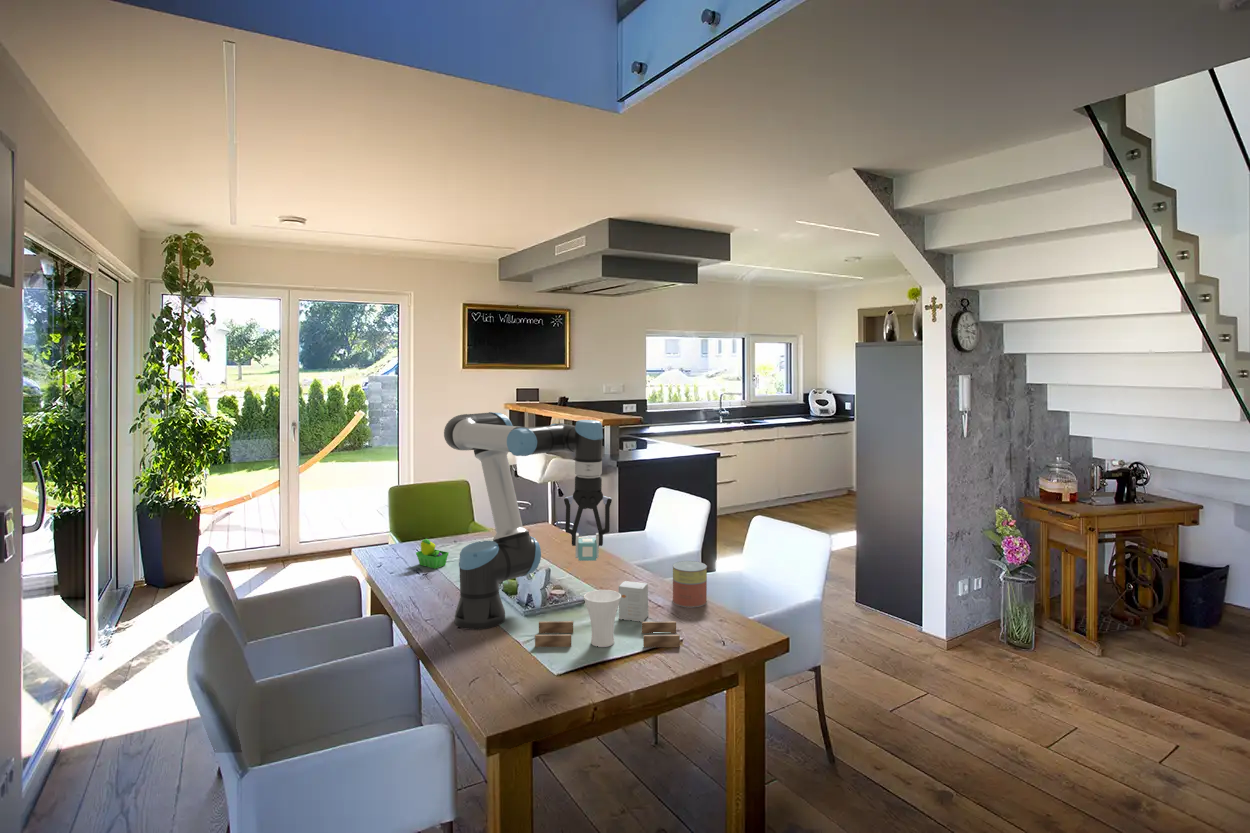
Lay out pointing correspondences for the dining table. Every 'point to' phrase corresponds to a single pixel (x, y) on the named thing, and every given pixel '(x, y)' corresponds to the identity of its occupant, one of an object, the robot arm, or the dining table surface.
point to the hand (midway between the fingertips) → (587, 556)
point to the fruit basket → (431, 555)
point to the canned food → (689, 584)
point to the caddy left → (554, 639)
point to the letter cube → (587, 549)
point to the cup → (602, 615)
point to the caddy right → (660, 639)
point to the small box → (633, 601)
